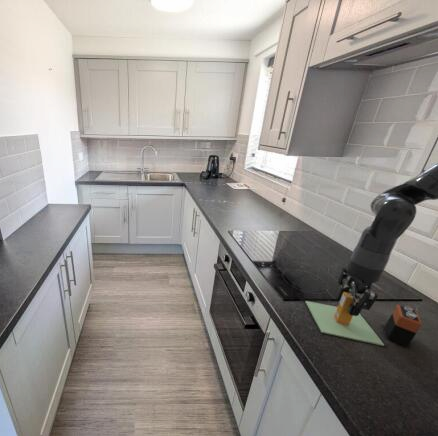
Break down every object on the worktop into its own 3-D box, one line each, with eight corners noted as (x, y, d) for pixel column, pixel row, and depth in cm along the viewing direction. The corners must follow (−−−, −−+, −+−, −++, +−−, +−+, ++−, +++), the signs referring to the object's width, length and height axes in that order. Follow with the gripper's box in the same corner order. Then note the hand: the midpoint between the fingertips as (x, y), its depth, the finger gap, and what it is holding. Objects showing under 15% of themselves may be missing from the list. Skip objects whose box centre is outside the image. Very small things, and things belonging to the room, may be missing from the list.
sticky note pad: (356, 311, 79) (357, 310, 79) (383, 346, 67) (384, 344, 67) (305, 301, 83) (305, 300, 83) (321, 332, 71) (321, 331, 70)
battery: (387, 339, 69) (402, 313, 65) (384, 325, 74) (398, 301, 70) (407, 347, 67) (424, 321, 63) (403, 333, 71) (418, 308, 68)
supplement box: (345, 318, 76) (356, 294, 72) (348, 326, 73) (360, 300, 69) (333, 315, 77) (343, 290, 73) (335, 322, 74) (347, 297, 70)
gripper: (401, 278, 59) (375, 327, 65) (367, 251, 72) (348, 294, 78) (367, 273, 61) (344, 321, 67) (340, 248, 74) (323, 290, 80)
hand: (346, 306), depth 73 cm, fingers open, 6 cm apart
